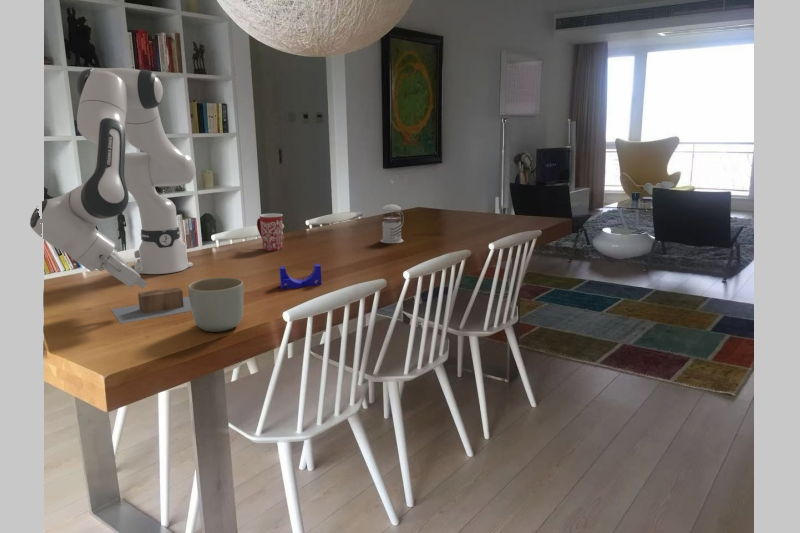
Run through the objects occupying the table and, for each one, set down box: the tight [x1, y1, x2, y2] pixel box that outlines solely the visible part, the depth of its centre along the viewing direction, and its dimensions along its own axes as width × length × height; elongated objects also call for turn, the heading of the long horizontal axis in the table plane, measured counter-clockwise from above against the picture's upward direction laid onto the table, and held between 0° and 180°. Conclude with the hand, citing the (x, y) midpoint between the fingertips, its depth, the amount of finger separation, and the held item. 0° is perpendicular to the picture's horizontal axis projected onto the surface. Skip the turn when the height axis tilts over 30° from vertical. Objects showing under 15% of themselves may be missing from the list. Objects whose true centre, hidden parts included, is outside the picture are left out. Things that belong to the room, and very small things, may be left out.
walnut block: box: [137, 286, 184, 314], centre depth 154 cm, size 4×4×10 cm
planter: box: [187, 276, 244, 333], centre depth 140 cm, size 12×12×11 cm
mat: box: [110, 295, 192, 324], centre depth 155 cm, size 14×22×1 cm, turn 125°
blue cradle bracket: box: [279, 263, 322, 290], centre depth 177 cm, size 12×4×6 cm, turn 106°
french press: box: [380, 180, 405, 244], centre depth 243 cm, size 10×12×25 cm
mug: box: [256, 212, 284, 252], centre depth 230 cm, size 13×9×14 cm
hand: (143, 285), depth 151 cm, fingers closed
